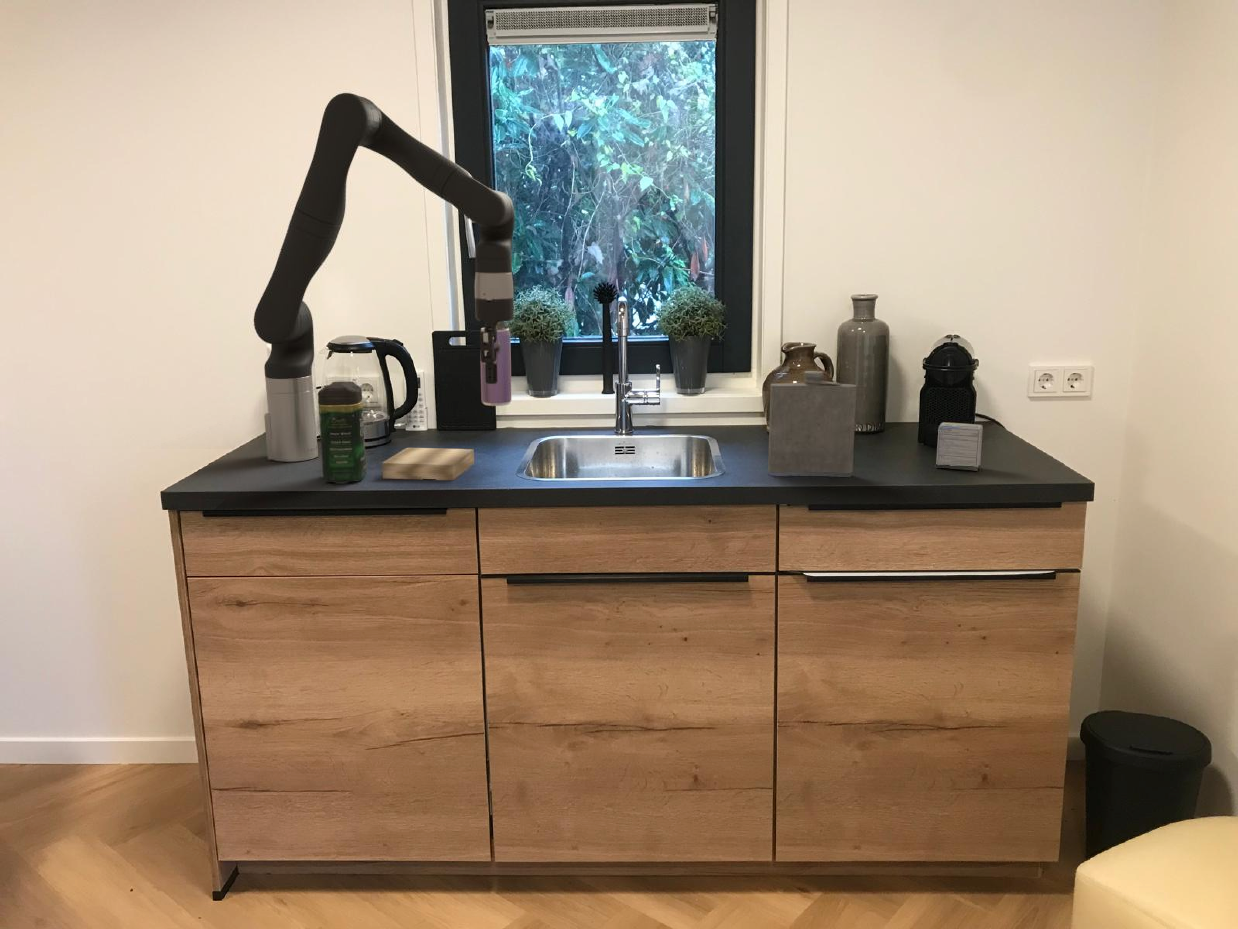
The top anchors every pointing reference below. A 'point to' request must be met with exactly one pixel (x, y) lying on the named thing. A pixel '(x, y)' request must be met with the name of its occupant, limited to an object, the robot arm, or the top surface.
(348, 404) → the coffee jar
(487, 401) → the beverage can
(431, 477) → the plinth
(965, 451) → the medicine box
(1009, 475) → the top surface
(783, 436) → the hip flask
